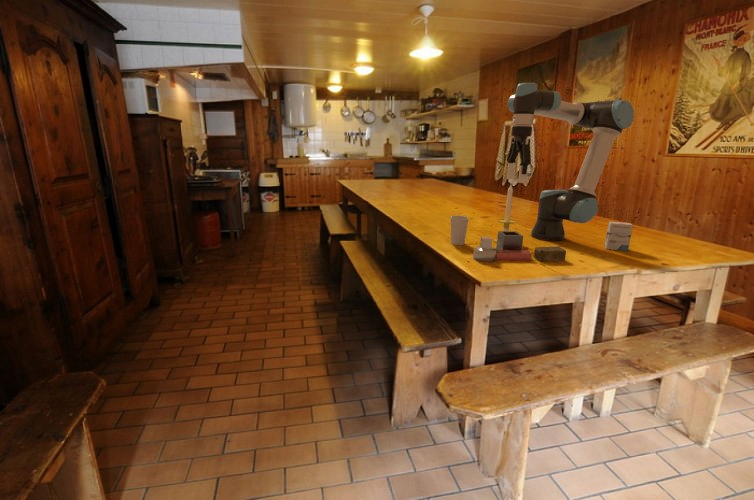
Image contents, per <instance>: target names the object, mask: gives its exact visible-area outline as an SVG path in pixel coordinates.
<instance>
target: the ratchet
mask: <svg viewBox="0 0 754 500" xmlns="http://www.w3.org/2000/svg"><path fill="white" fill-rule="evenodd" d="M492 244H493V238H492V237H490V236H481V237H480V244H479V245H478V246H477V245H476V246H474V248H473V256H472V258H473V260H475V261H478V262H482V263H493V262H496V261H512V262H513V261H515V262H517V261H523V262H525V261H528V262H529V261H532V259H533V258H532V257H533V252H531V251H530V250H528V249H522V250H497V249H496V248H495V247H493V245H492Z"/></svg>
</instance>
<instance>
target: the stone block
mask: <svg viewBox="0 0 754 500" xmlns="http://www.w3.org/2000/svg"><path fill="white" fill-rule="evenodd" d="M533 251H534V252H533V256H534V258H535V259H536V260H537V261H538V262H540V263H541V262H542V263H544V262H547V263H548V262H549V263H550V262H554V263H555V262H565V261H566V256H567V251H566V249H564V248H562V247H561V246H542V247H541V246H538V247H537V246H535V248H534V250H533Z"/></svg>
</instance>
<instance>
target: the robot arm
mask: <svg viewBox="0 0 754 500" xmlns="http://www.w3.org/2000/svg"><path fill="white" fill-rule="evenodd" d="M507 109H508V110H509V112H511V113H513V115H512V118H511V119H512V125H513V126H512V127H511V132H510V133H511V134H510V135H511V137H512V138H511V142H510V146H509V149H508V154H507V157H506V161H507V163H508V164H507V171H506V180H514V179H515V170H516V163H517V157H518V155H519V159H520V163H519V172H518V178H517V179H518V181H517V182H518V183H520V184H526V183H527V176H528V169H529V168H528V167H529V165H531V164H532V157H531V138H528V137H531V136H532V134H533V127H532V126H533V125H534V118H535V116H538V117H545V118H551V119H556V120H559V121H560V120H561V121H566V122H567V124H570V125H573V126H578V127H583V128H586V129H591V132H592V133H593V135H592V138H591V141H590V143H589V145H588V148H587V151H586V154H585V156H584V159H583V162H582V164H581V166H580V169H579V172H578V174H577V177H576V180H575V183H574V185H573V186H571V187H570V188H568V189H546V190H542V191H541V192H540V195H539V199H538V208H537V214H536V215H537V216H536V221H535V223H534V226H533V227H532V229H531V233H530V236H531V237H532V238H535V239H538V240H544V241H550V242H551V241H553V242H555V241H563V240H565V236H566V233H565V232H566V231H565V228H564V221H569V222H571V223H579V224H586V223H588V222H589V221H591V220H593V219H594V218H595V216H596V214H597V212H598V209H599V206H598V205H599V202H598V201H597V200H596V198H597V194H596V193H595V190H596V188H597V185H598V183H599V181H600V178H601V175H602V173H603V171H604V168H605V165H606V162H607V160H608V157H609V155H610V153H611V150H612V148H613V145H614V142H615V139H616V138H618V137H620V136H621V135H622V132H623V130H626V129H628V128H629V127H631V126H632V124H633V122H634V118H635V111H634V110H635V109H634V106H633V105H632V103H631V101H629V100H626V99H614V100H602V101H591V102H580V101H576V102H573V103H572V102H567V101H563V100H562V95H561V93H560V92H558V91H554V90H542V89H538V84H537V83H535V82H520V83H518V84H517V86H516V90H515V94H512V95H511V96H510V97H509V98H508V100H507ZM513 137H514V138H513Z"/></svg>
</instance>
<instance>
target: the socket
mask: <svg viewBox="0 0 754 500" xmlns="http://www.w3.org/2000/svg"><path fill="white" fill-rule="evenodd" d="M523 242H524V235H523V234H521V233H520V232H518V231H513V230H509V231H503V230H500V231H499V230H498V232H497V242H496V249H497V250H523V244H524V243H523Z"/></svg>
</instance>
